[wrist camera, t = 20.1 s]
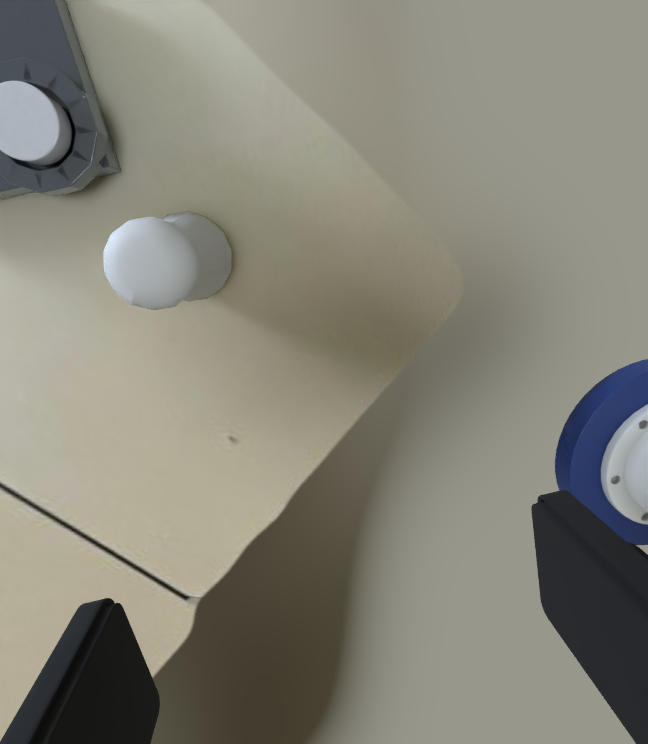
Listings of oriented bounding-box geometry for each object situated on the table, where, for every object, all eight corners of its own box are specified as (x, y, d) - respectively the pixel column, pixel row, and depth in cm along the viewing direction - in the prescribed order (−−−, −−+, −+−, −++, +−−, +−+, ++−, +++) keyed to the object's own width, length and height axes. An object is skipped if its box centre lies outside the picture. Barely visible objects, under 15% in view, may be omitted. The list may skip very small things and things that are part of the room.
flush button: (57, 83, 26) (42, 72, 25) (82, 157, 27) (70, 151, 26) (-12, 98, 26) (-32, 88, 24) (16, 172, 27) (-1, 167, 26)
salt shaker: (138, 233, 32) (51, 226, 20) (212, 201, 32) (173, 174, 20) (177, 309, 34) (120, 347, 21) (248, 279, 34) (232, 299, 21)
